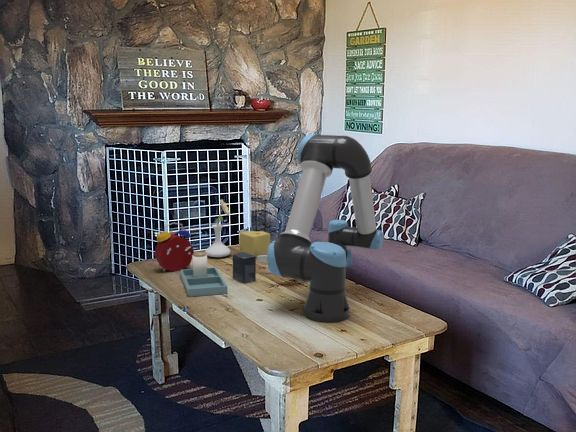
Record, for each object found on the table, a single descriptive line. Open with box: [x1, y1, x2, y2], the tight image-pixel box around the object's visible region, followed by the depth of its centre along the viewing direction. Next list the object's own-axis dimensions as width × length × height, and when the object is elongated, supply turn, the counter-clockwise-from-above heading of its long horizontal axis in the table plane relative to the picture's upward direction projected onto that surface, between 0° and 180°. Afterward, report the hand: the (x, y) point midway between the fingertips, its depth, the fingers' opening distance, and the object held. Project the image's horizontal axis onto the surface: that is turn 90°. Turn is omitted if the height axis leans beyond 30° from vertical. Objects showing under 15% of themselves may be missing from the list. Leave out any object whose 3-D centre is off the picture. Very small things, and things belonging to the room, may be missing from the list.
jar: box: [191, 251, 208, 278], centre depth 226 cm, size 6×6×10 cm
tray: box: [179, 266, 229, 298], centre depth 220 cm, size 24×14×3 cm, turn 17°
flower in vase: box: [204, 199, 232, 258], centre depth 258 cm, size 13×11×25 cm
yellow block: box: [238, 230, 271, 258], centre depth 262 cm, size 10×11×10 cm
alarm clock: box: [153, 222, 195, 272], centre depth 235 cm, size 15×9×20 cm, turn 123°
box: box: [232, 252, 257, 285], centre depth 225 cm, size 8×6×11 cm
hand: (261, 264), depth 227 cm, fingers open, 13 cm apart
